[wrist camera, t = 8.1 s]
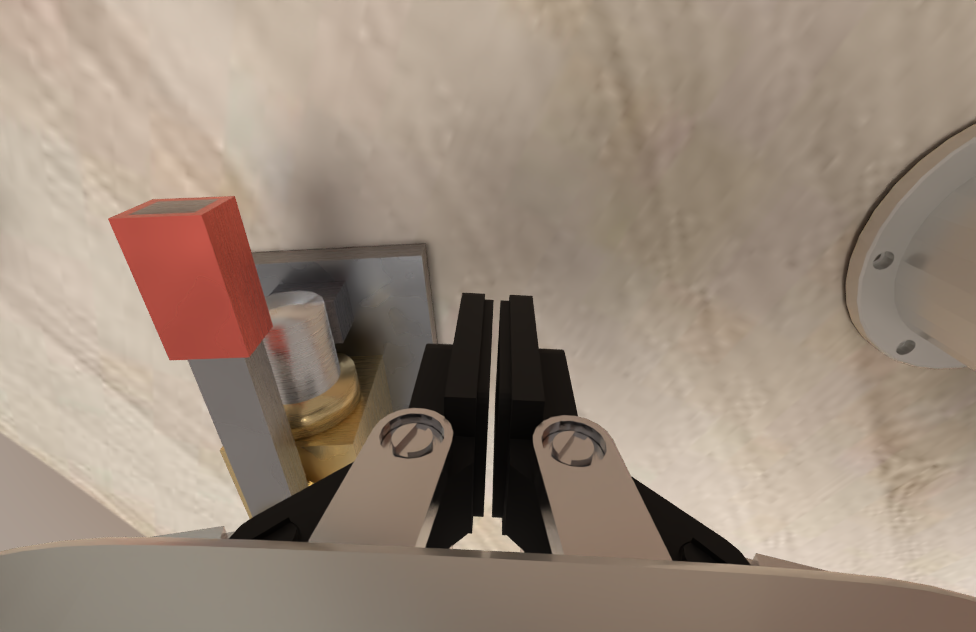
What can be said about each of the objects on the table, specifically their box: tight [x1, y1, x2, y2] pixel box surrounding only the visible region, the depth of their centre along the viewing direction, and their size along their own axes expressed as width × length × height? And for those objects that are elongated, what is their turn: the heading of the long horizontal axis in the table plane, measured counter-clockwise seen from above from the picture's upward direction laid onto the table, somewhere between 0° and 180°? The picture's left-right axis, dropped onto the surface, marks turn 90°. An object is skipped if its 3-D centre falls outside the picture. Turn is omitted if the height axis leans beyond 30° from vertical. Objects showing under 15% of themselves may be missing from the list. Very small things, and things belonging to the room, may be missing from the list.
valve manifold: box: [220, 244, 437, 519], centre depth 22 cm, size 10×15×8 cm, turn 3°
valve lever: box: [108, 196, 314, 517], centre depth 15 cm, size 13×3×2 cm, turn 2°
